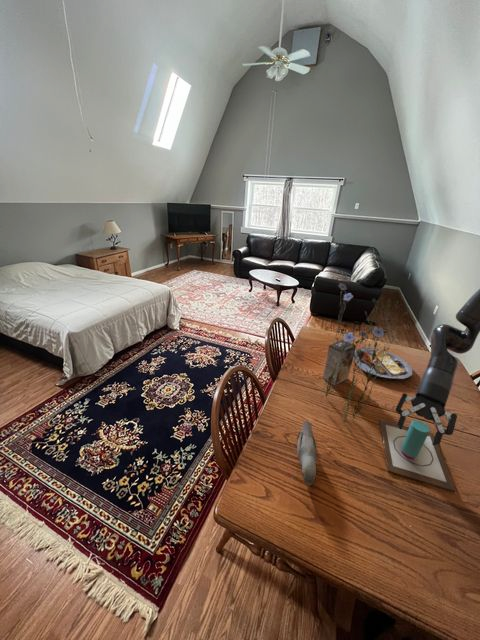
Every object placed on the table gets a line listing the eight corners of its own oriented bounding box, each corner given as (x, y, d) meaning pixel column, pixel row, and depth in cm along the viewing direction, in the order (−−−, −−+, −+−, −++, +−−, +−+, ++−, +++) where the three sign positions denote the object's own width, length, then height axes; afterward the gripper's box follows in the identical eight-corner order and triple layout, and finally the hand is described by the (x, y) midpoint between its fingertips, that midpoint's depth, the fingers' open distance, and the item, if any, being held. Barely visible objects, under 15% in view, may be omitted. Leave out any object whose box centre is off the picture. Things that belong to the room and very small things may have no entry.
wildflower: (387, 419, 92) (433, 296, 73) (344, 447, 81) (385, 310, 62) (336, 382, 109) (362, 275, 90) (294, 401, 98) (314, 283, 79)
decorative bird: (297, 486, 69) (301, 467, 66) (294, 436, 84) (297, 418, 81) (318, 490, 69) (323, 470, 66) (312, 439, 83) (316, 421, 80)
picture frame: (432, 434, 87) (433, 433, 87) (454, 492, 70) (455, 490, 70) (379, 420, 92) (379, 419, 91) (387, 471, 74) (388, 470, 74)
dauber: (414, 450, 80) (427, 422, 76) (418, 462, 77) (431, 434, 72) (398, 445, 82) (410, 418, 77) (401, 457, 78) (413, 429, 73)
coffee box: (335, 370, 117) (343, 338, 110) (348, 378, 112) (357, 345, 106) (321, 377, 112) (329, 344, 105) (334, 386, 107) (343, 352, 100)
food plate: (345, 349, 134) (346, 343, 132) (392, 352, 133) (394, 346, 132) (364, 381, 111) (366, 374, 110) (420, 384, 111) (423, 377, 109)
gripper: (409, 373, 82) (390, 422, 78) (467, 394, 74) (449, 450, 70) (407, 379, 88) (389, 425, 84) (460, 399, 80) (443, 451, 76)
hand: (416, 436), depth 77 cm, fingers open, 8 cm apart
